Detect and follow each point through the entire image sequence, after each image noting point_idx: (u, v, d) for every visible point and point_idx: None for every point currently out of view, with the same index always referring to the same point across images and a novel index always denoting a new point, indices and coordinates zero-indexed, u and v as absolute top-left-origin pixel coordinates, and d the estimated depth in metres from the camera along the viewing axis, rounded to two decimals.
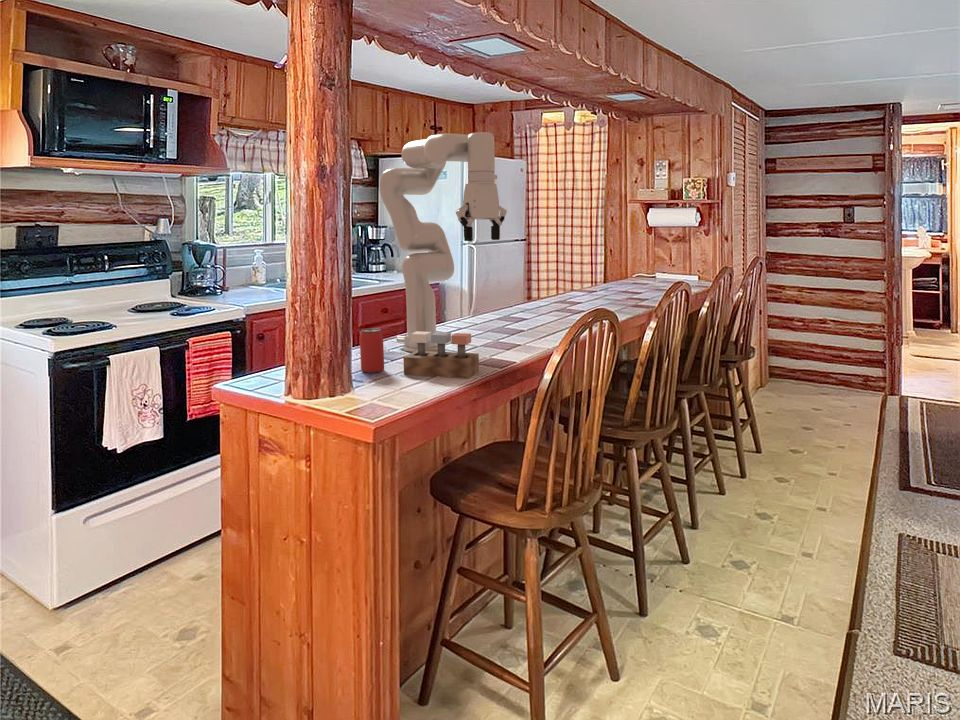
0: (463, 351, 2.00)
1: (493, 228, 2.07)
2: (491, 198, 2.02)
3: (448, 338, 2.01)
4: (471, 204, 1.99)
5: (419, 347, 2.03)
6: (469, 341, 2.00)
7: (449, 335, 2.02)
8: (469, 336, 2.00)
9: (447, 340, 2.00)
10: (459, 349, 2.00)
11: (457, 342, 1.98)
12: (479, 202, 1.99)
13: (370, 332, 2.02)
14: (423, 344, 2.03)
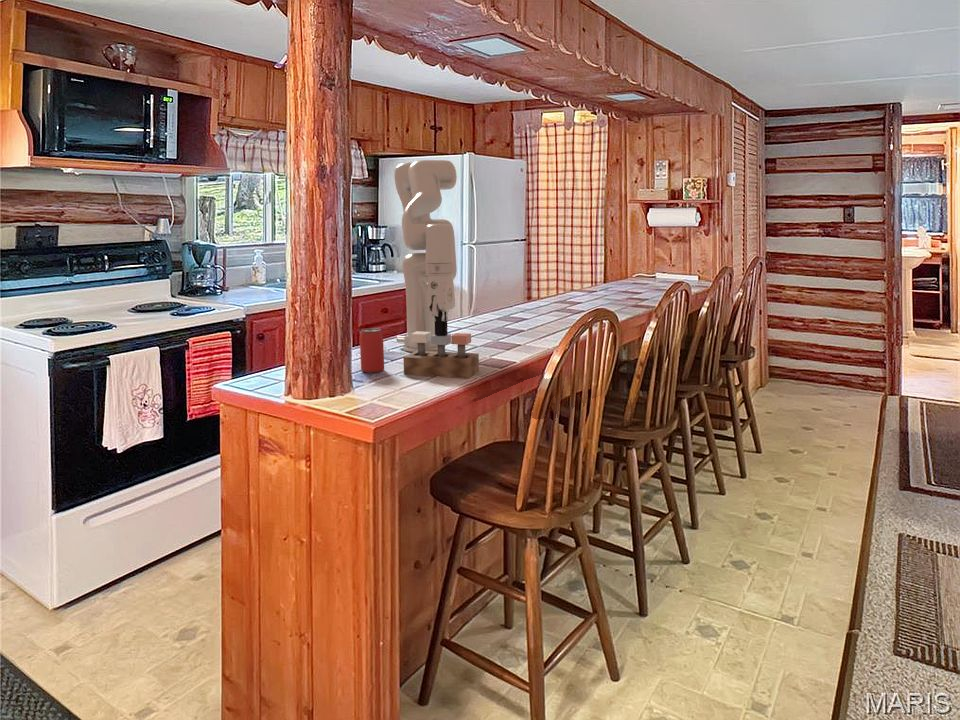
0: (463, 351, 2.00)
1: None
2: None
3: (448, 340, 2.01)
4: None
5: (419, 347, 2.03)
6: (469, 341, 2.00)
7: (449, 336, 2.02)
8: (469, 336, 2.00)
9: (447, 341, 2.00)
10: (459, 349, 2.00)
11: (457, 342, 1.98)
12: None
13: (370, 332, 2.02)
14: (423, 344, 2.03)
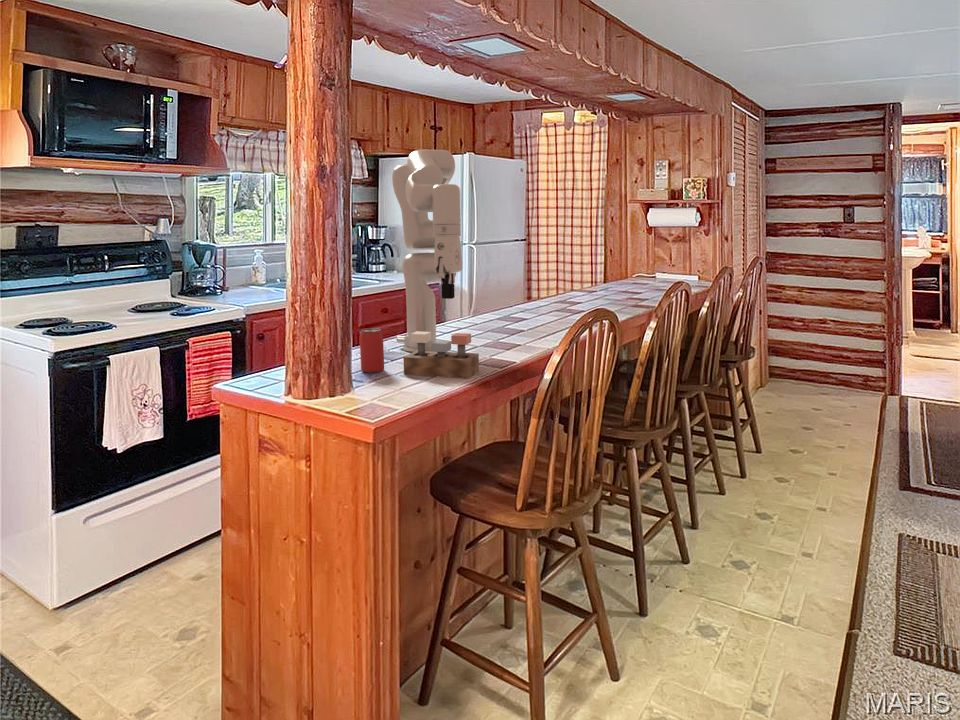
0: (463, 351, 2.00)
1: None
2: None
3: (449, 346, 2.02)
4: None
5: (419, 347, 2.03)
6: (469, 341, 2.00)
7: (449, 343, 2.03)
8: (469, 336, 2.00)
9: (447, 348, 2.01)
10: (459, 349, 2.00)
11: (457, 342, 1.98)
12: None
13: (370, 332, 2.02)
14: (423, 344, 2.03)
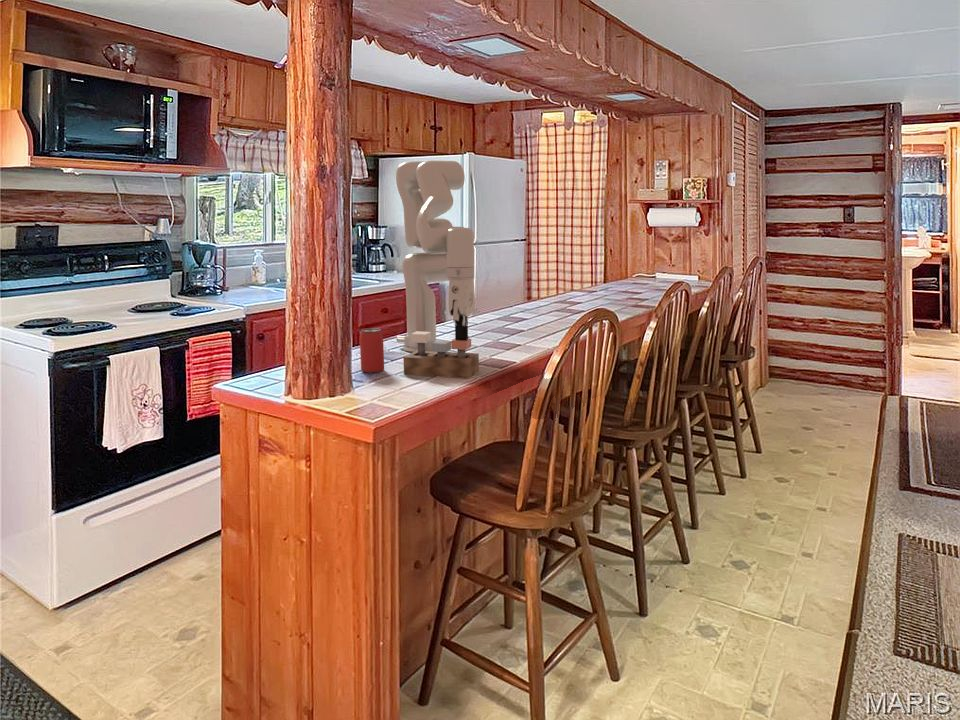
0: (463, 356, 2.00)
1: None
2: None
3: (449, 346, 2.02)
4: None
5: (419, 347, 2.03)
6: (469, 346, 2.00)
7: (449, 343, 2.03)
8: (469, 341, 2.00)
9: (447, 348, 2.01)
10: (459, 354, 2.00)
11: (457, 347, 1.99)
12: None
13: (370, 332, 2.02)
14: (423, 344, 2.03)
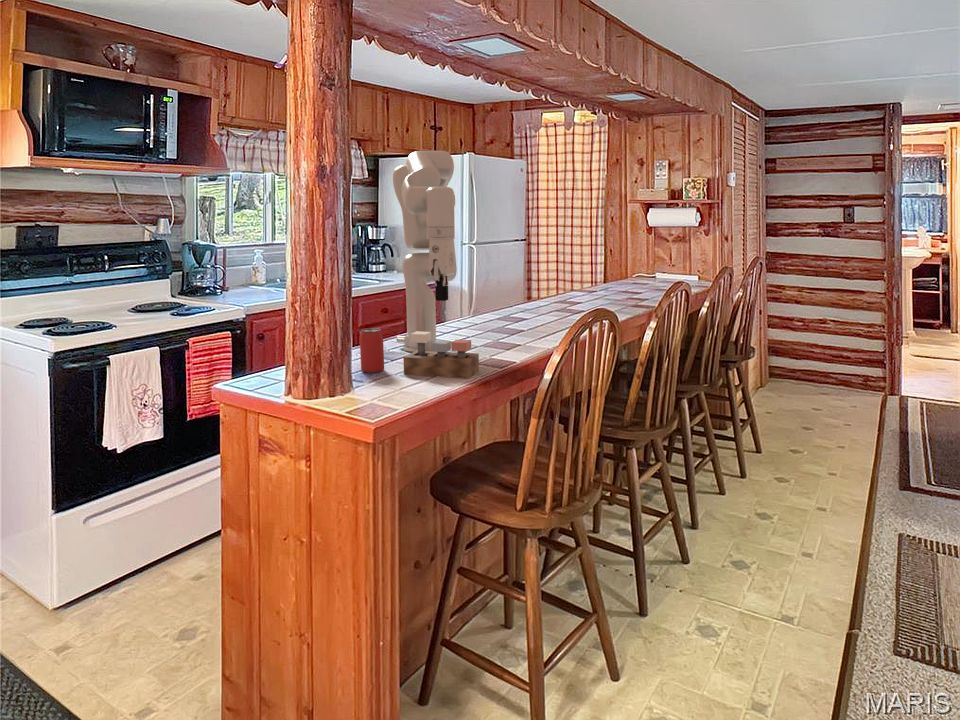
0: None
1: None
2: None
3: (449, 346, 2.02)
4: None
5: (419, 347, 2.03)
6: (469, 348, 2.00)
7: (449, 343, 2.03)
8: (469, 343, 2.00)
9: (447, 348, 2.01)
10: (459, 356, 2.00)
11: (457, 349, 1.99)
12: None
13: (370, 332, 2.02)
14: (423, 344, 2.03)
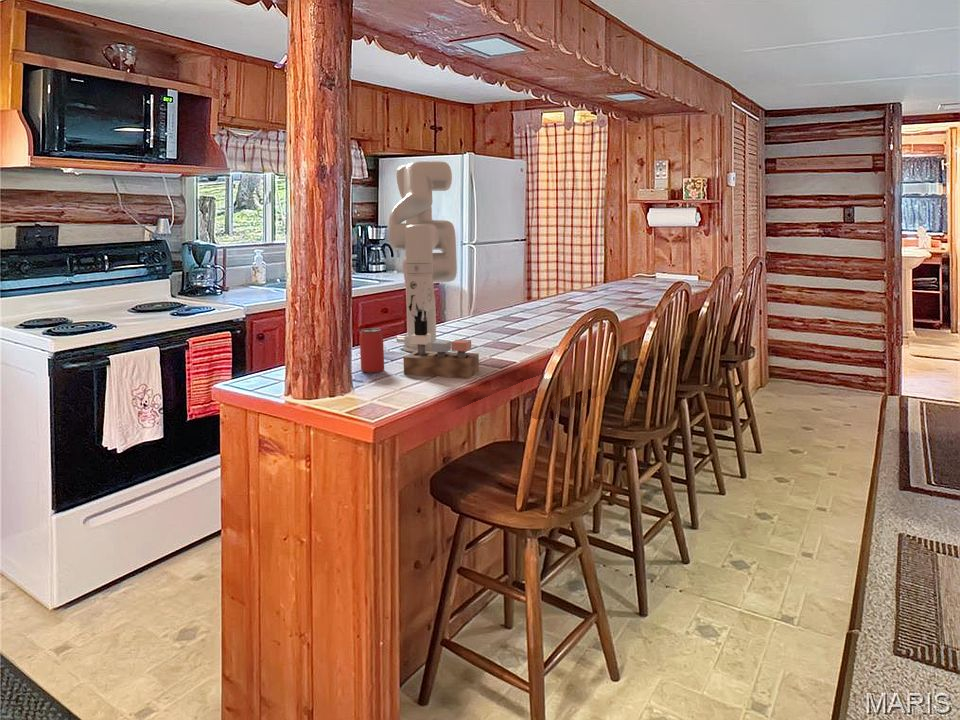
0: None
1: None
2: None
3: (449, 346, 2.02)
4: None
5: (419, 349, 2.03)
6: (469, 348, 2.00)
7: (449, 343, 2.03)
8: (469, 343, 2.00)
9: (447, 348, 2.01)
10: (459, 356, 2.00)
11: (457, 349, 1.99)
12: None
13: (370, 332, 2.02)
14: (423, 346, 2.03)
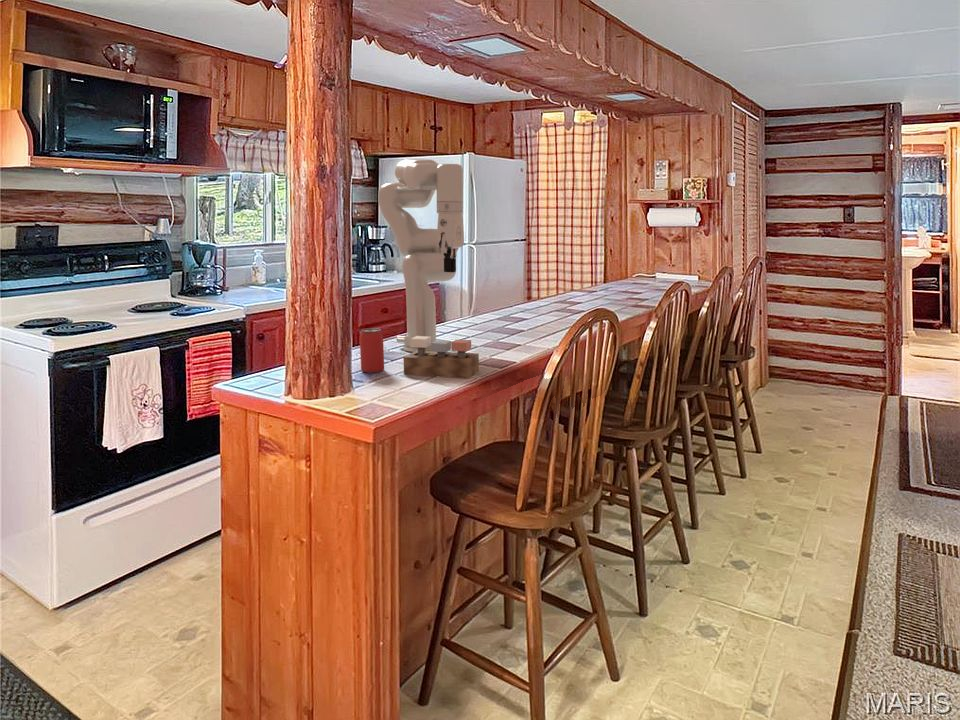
0: None
1: None
2: None
3: (449, 346, 2.02)
4: None
5: (419, 352, 2.03)
6: (469, 348, 2.00)
7: (449, 343, 2.03)
8: (469, 343, 2.00)
9: (447, 348, 2.01)
10: (459, 356, 2.00)
11: (457, 349, 1.99)
12: None
13: (370, 332, 2.02)
14: (423, 349, 2.03)
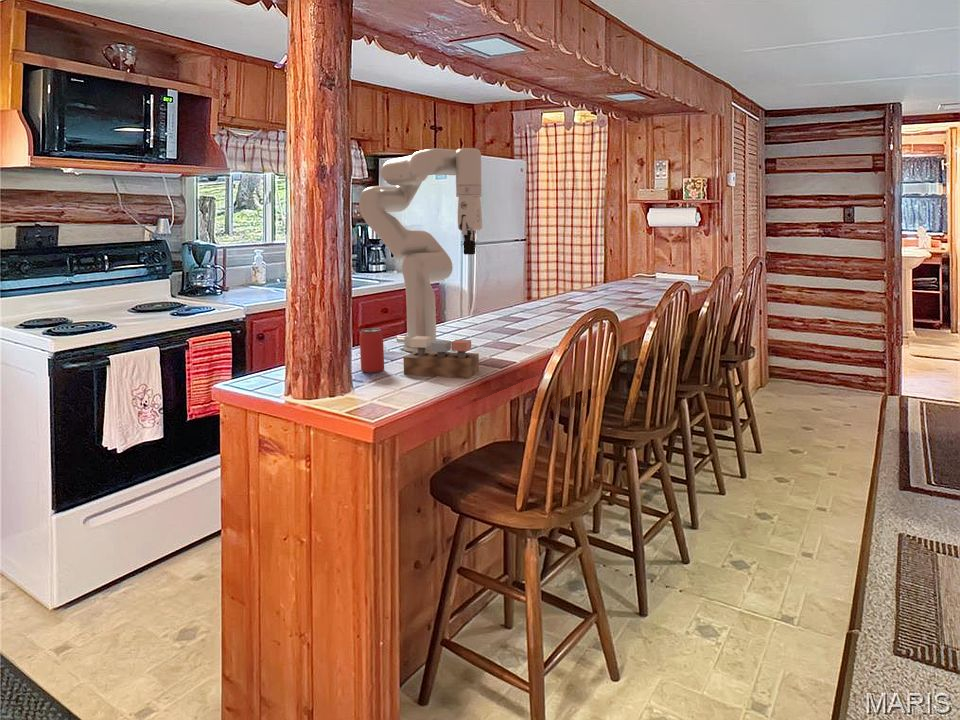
0: None
1: None
2: None
3: (449, 346, 2.02)
4: None
5: (419, 352, 2.03)
6: (469, 348, 2.00)
7: (449, 343, 2.03)
8: (469, 343, 2.00)
9: (447, 348, 2.01)
10: (459, 356, 2.00)
11: (457, 349, 1.99)
12: None
13: (370, 332, 2.02)
14: (423, 349, 2.03)
